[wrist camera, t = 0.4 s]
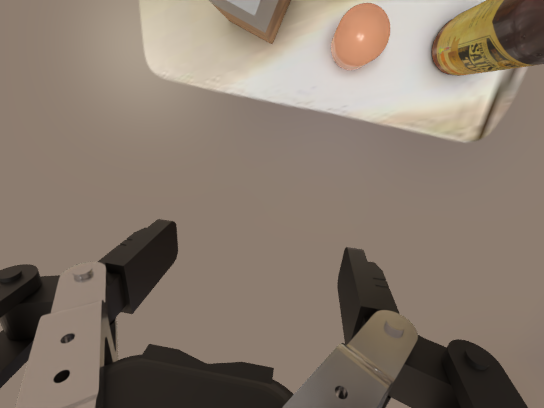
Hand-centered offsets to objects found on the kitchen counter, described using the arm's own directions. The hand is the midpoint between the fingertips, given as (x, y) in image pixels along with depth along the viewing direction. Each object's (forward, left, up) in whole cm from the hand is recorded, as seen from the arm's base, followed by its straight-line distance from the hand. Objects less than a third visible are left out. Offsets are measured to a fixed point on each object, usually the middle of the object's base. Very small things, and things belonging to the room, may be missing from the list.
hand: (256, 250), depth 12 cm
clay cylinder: (-14, +1, -27) cm, 31 cm away
